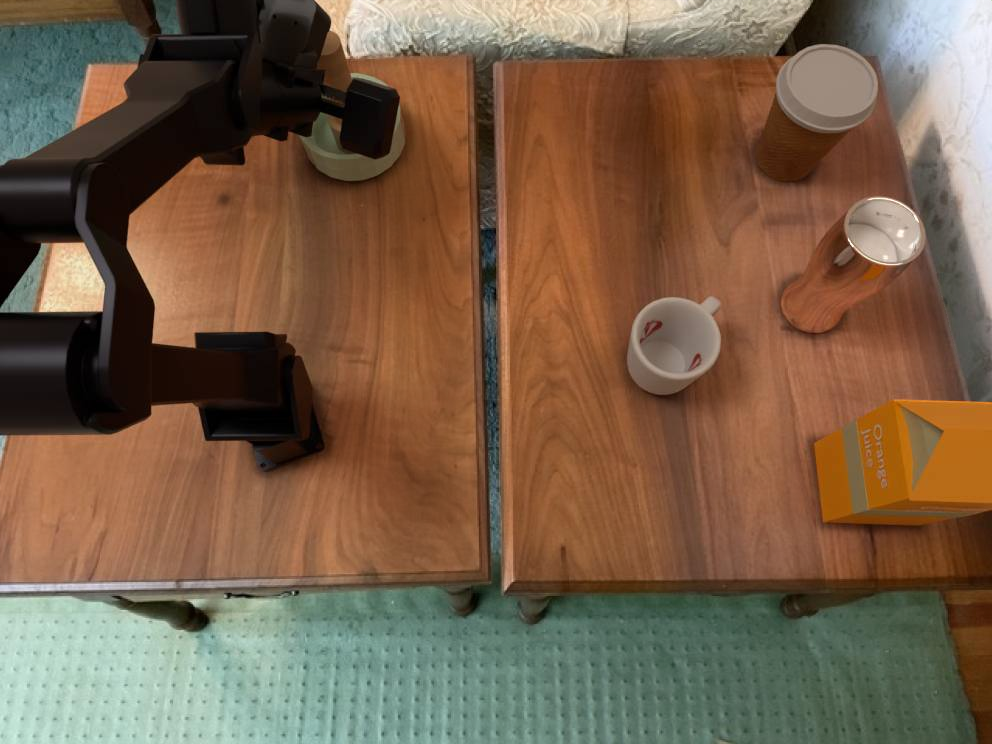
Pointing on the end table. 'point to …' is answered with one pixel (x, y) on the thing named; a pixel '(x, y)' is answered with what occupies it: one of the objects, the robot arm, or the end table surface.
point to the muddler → (335, 77)
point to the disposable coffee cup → (814, 109)
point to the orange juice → (908, 464)
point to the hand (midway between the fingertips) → (341, 93)
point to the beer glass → (854, 262)
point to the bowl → (349, 165)
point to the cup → (673, 343)
